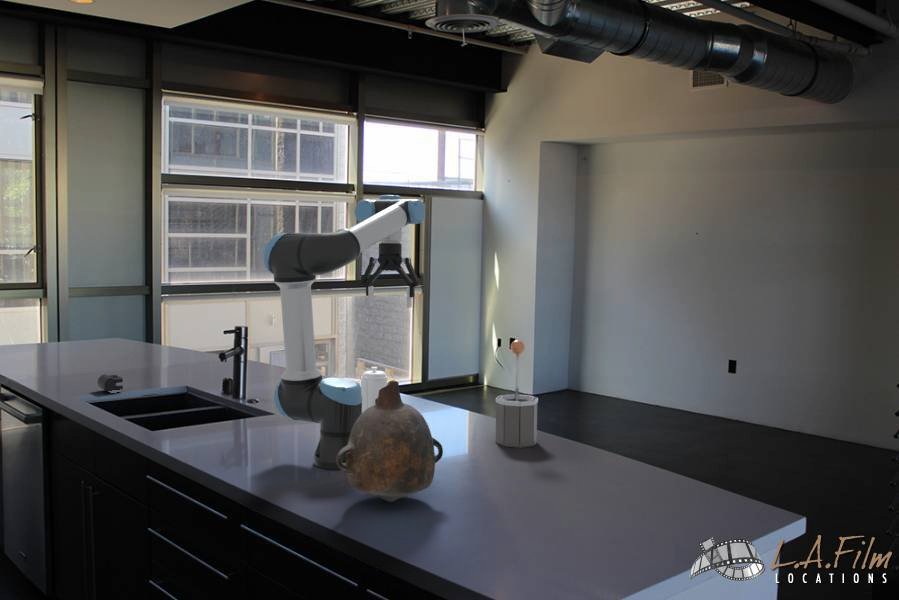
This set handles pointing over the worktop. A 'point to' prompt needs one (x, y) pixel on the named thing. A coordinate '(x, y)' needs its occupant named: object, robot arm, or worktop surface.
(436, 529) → the worktop surface
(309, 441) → the worktop surface
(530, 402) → the grey octagonal tube
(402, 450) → the jug
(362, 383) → the coffeepot
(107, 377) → the end cap
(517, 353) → the copper ball knob
